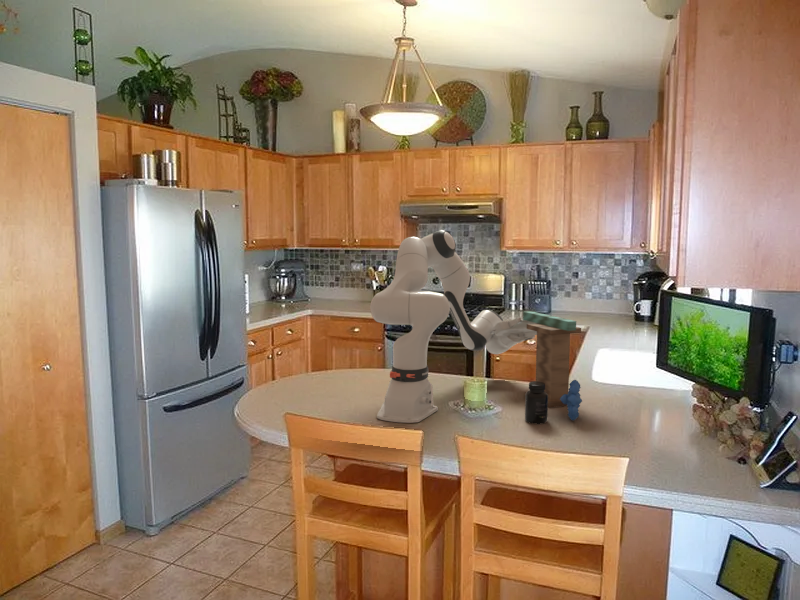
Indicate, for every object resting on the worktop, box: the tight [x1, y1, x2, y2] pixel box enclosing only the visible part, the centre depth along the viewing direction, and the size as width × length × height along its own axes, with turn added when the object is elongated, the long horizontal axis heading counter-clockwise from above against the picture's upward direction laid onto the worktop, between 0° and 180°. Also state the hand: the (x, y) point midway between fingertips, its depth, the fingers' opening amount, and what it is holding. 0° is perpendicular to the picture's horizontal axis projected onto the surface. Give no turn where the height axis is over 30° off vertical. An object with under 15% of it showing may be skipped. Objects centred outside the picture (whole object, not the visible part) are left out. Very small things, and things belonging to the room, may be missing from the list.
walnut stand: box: [524, 323, 582, 409], centre depth 203 cm, size 14×12×26 cm
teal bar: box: [522, 310, 577, 331], centre depth 204 cm, size 26×3×3 cm, turn 22°
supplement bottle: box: [524, 380, 549, 425], centre depth 182 cm, size 7×7×12 cm
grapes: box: [560, 379, 583, 421], centre depth 185 cm, size 12×7×12 cm, turn 160°
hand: (530, 318), depth 214 cm, fingers open, 8 cm apart
